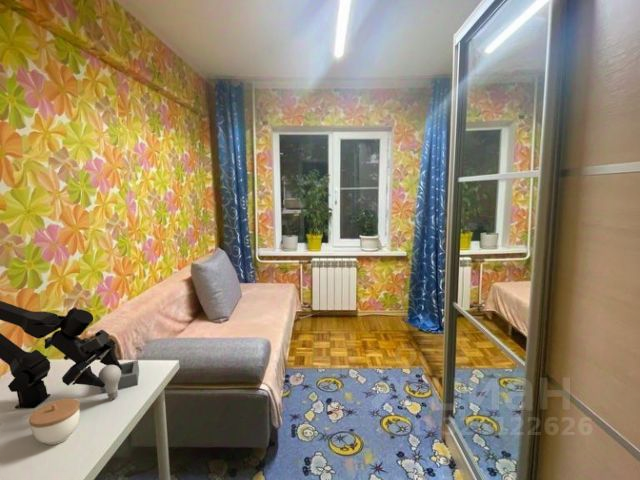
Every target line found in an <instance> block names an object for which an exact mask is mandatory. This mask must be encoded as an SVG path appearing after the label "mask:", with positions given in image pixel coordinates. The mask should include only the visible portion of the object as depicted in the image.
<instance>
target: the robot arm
mask: <svg viewBox="0 0 640 480" xmlns="http://www.w3.org/2000/svg"><path fill="white" fill-rule="evenodd" d="M0 321H3V322H5V323H8V324H12V325H15V326H17V327H20V328H21V329H22V331H23V332H24V333H25V334H27V335H29V336H31V337H33V338H35V339H43V338H45V337H47V338H45V339H43V340H44V345H43V346H44V349H45V350H47V349H48V348H50V347H52V346H53V347H54V348H55V349H56V350H58V351H59V352H60V353H62V354H63V355H64V357H63V359H64V360H65V361H67V360H68V359H69V360H71V361H72V362H74V364H73V365H72V366H70V368H69V369H68V370H67V371H66V372H65V373H64V375H63V376H62V377H61V380H62V383H63V384H64V385H66V386H70V385H73V386H75V385H82V386H83V385H85V386H91V387H97V388H100V387H104V386H105V383H104V382H103V381H102V380H101V379H100V378H98V375H97V374H95V373H94V372H93V370H92V366H91V364H93V362H95V361H96V360H98V361H99V360H100V361H99V363H101V364H103V365H105V366H108V365H116V366H118V367H119V368H120V370H122V367H121V365H120V364H121V363H120V362H119V360H118V358H117V356H116V354H115V349H116V344H117V343H116V341H114V340H113V339H109V336H110V334H109V333H108V332H107V331H105V330H104V329H100V330H98V331H96V332H95V333H94V335H95V336H94V337H93V338H90V339H88V338H87V337H84V338H81V337H79V336H81V335H82V334H83V333H84V332H85V331H86V330H87V328H88V327H89V326H90V325H91V323H92V322H93V321H94V315H93V314H92V313H91V312H90V311H88V310H85V309H78V308H77V307H72V308H70V309H69V310H68V312H67V314H65V315H58V314H57V313H54V312H50V311H44V310H43V311H42V310H41V311H33V310H29V309H26V308H23V307H20V306H17V305H13V304H10V303H9V302H5V301H2V300H0ZM53 332H54V333H53ZM50 334H52V335H50ZM48 335H50V336H48ZM0 360H1V361H3V362H4V363H6V364H7V365H8V367H9V370H10V374H11V376H12V377H13V379H12V380H11V382H10V383H9V384H8V385H7V388H8V389H9V391H10V393H12V392H13V393H15V392H16V394H17V401H18V404H16V405H15V406H14V408H15V409H33V408H34V409H35V408H37V407H39V405H40V406H41V404H42V403H44V402H45V401H46V400H47V399H48V398H50V397H51V393H48V389H47V386H46V385H45V381H44V379H45V378H46V377H48V375H49V371H50V370H51V361H50V360H49V359H48V355H47V356H46V355H44V354H43V353H42V352H40V351H39V350H37V349H35V350H33V351H31V352H30V351H25V350H24V349H22V348H21V347H20V346H19V345H17V344H16V343H14V342H13V341H12V340H10V339H9V338H8V337H7V336H5V335H3V334H2V333H1V332H0Z"/></svg>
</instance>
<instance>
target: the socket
mask: <svg viewBox="0 0 640 480" xmlns="http://www.w3.org/2000/svg"><path fill="white" fill-rule="evenodd" d="M120 365H121V367H122V370H121V377H120V380H119V382H118V390H123V389H126V388H132V387H135V386H138V385H139V376H140V366H139V360H138V359H137V360H132V361H128V362H123V363H120ZM99 388H100V393H101V395H102V394H107V393H106V389H105V387H99ZM118 390H117V391H118Z"/></svg>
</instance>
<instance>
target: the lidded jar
mask: <svg viewBox="0 0 640 480" xmlns="http://www.w3.org/2000/svg"><path fill="white" fill-rule="evenodd" d="M80 409H81V408H80V401H79V400H78V399H76V398H67V397H66V398H62V399H57V400H53V401H51V402H48V403H46V404H44V405H42V406H40V407H39V408H37V409H36V410H34V411H33V412H32V413H31V414H30V416H29V418H28V423H29V427H30V429H31V432H32V434H33V436H34V438H35V439H36V440H37V441H38V442H40V443H43V444H46V445H49V446H52V445H58V444H60V443H63V442H65V441H66V440H68V439H69V438H71V436H72V435H73V434H74V432H75V431H76V429H77V428H78V426H79V423H80V419H81V410H80Z"/></svg>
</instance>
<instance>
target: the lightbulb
mask: <svg viewBox="0 0 640 480" xmlns="http://www.w3.org/2000/svg"><path fill="white" fill-rule="evenodd" d="M97 377H98V378H100V379H101V380H102V381H103V382H104V383H105V386H104V387H105V389H106V393H105V394H107V398H108V399H109V400H112V401H113V400H115V399H116V398H118V394H119V393H118V382H119V380H120V377H121V370H120V368H119V367H118V366H116V365H108V366H107V365H105V366H103V367H102V368H101V370H99V373H98V375H97Z"/></svg>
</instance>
